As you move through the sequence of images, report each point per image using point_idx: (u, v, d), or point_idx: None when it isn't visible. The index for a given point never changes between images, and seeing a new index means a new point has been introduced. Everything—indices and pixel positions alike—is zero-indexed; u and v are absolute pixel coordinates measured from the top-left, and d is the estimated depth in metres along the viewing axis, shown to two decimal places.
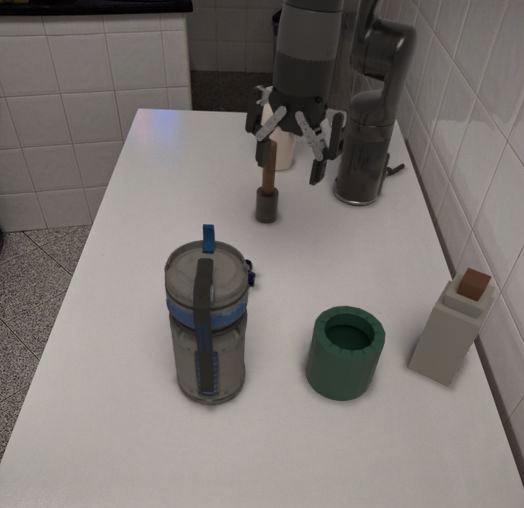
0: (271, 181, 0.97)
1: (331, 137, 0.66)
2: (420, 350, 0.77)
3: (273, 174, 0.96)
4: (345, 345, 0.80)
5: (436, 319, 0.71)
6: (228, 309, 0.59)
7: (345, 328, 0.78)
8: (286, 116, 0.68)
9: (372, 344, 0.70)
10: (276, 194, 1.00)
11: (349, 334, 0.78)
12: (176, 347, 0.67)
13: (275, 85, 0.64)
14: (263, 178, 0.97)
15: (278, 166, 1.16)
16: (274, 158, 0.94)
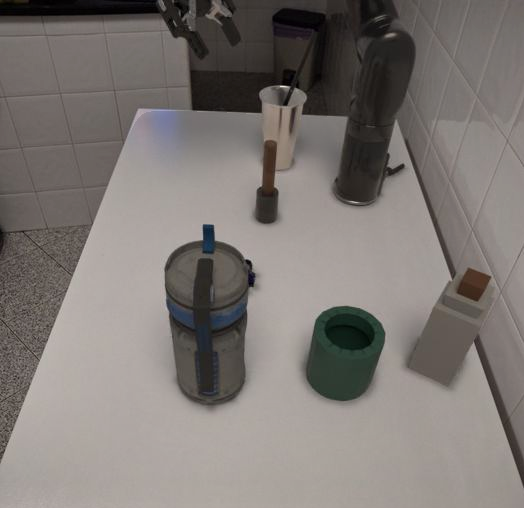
0: (271, 181, 0.97)
1: None
2: (420, 350, 0.77)
3: (273, 174, 0.96)
4: (345, 345, 0.80)
5: (436, 319, 0.71)
6: (228, 309, 0.59)
7: (345, 328, 0.78)
8: None
9: (372, 344, 0.70)
10: (276, 194, 1.00)
11: (349, 334, 0.78)
12: (176, 347, 0.67)
13: None
14: (263, 178, 0.97)
15: (278, 166, 1.16)
16: (274, 158, 0.94)
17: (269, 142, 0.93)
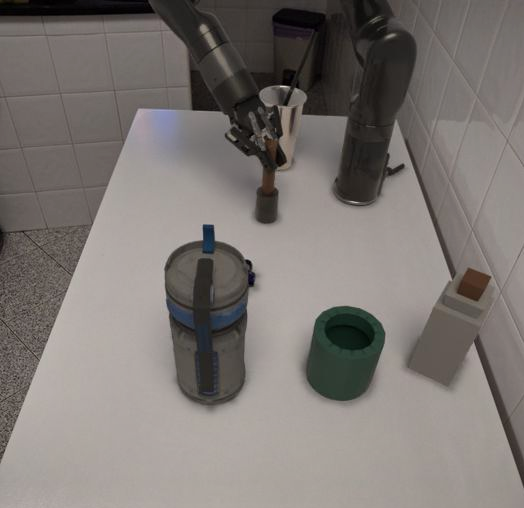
0: (271, 181, 0.97)
1: None
2: (420, 350, 0.77)
3: (273, 174, 0.96)
4: (345, 345, 0.80)
5: (436, 319, 0.71)
6: (228, 309, 0.59)
7: (345, 328, 0.78)
8: None
9: (372, 344, 0.70)
10: (276, 194, 1.00)
11: (349, 334, 0.78)
12: (176, 347, 0.67)
13: None
14: (263, 178, 0.97)
15: None
16: (274, 158, 0.94)
17: (269, 142, 0.93)
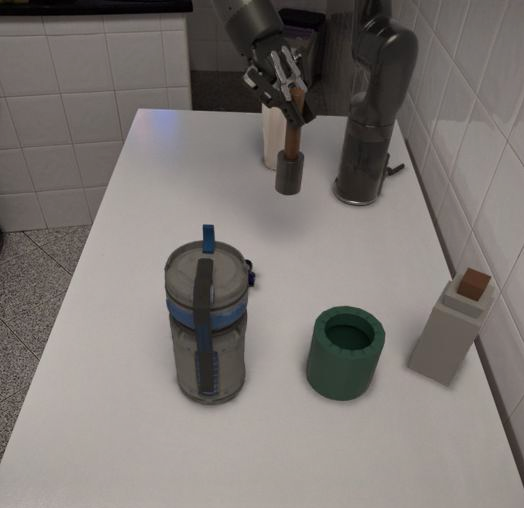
0: (296, 142, 0.80)
1: None
2: (420, 350, 0.77)
3: (299, 132, 0.79)
4: (345, 345, 0.80)
5: (436, 319, 0.71)
6: (227, 309, 0.59)
7: (345, 328, 0.78)
8: None
9: (372, 344, 0.70)
10: (301, 158, 0.82)
11: (349, 334, 0.78)
12: (176, 347, 0.67)
13: None
14: (286, 138, 0.79)
15: None
16: (301, 111, 0.76)
17: (295, 91, 0.75)
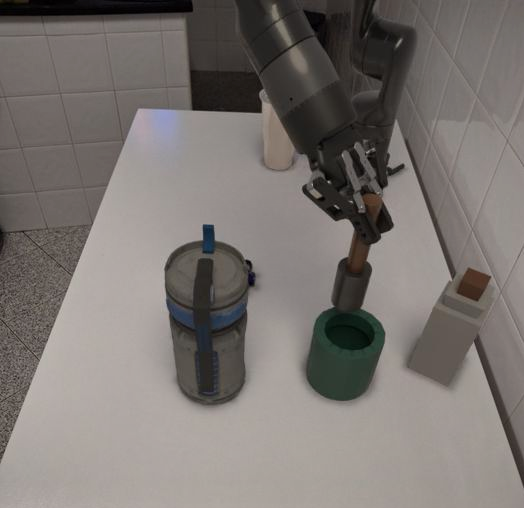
0: (365, 255, 0.62)
1: None
2: (420, 350, 0.77)
3: (369, 245, 0.61)
4: (345, 345, 0.80)
5: (436, 319, 0.71)
6: (228, 309, 0.59)
7: (345, 328, 0.78)
8: None
9: (372, 344, 0.70)
10: (369, 272, 0.65)
11: (349, 334, 0.78)
12: (176, 347, 0.67)
13: None
14: (352, 250, 0.62)
15: (278, 166, 1.16)
16: (375, 222, 0.59)
17: (369, 198, 0.58)
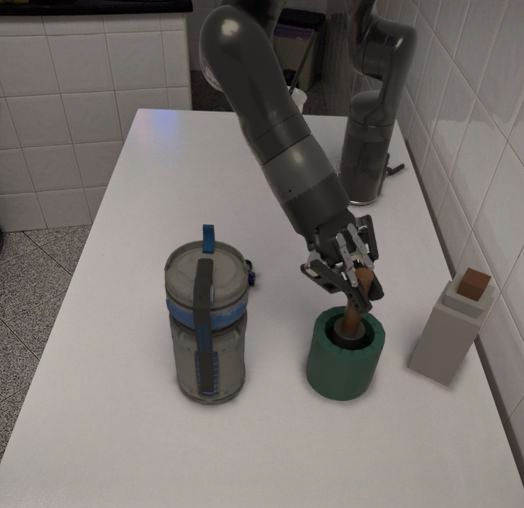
0: (358, 319, 0.68)
1: None
2: (420, 350, 0.77)
3: None
4: None
5: (436, 319, 0.71)
6: (228, 309, 0.59)
7: None
8: None
9: (372, 344, 0.70)
10: (362, 332, 0.71)
11: None
12: (176, 347, 0.67)
13: None
14: (347, 314, 0.68)
15: None
16: (367, 293, 0.65)
17: (362, 272, 0.64)
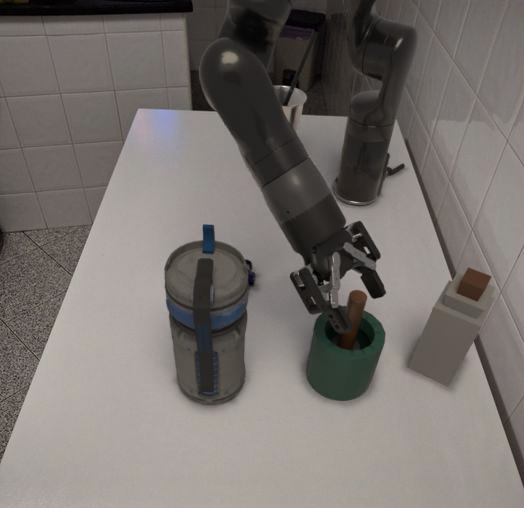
0: (353, 338, 0.71)
1: None
2: (420, 350, 0.77)
3: (357, 330, 0.70)
4: None
5: (436, 319, 0.71)
6: (227, 309, 0.59)
7: None
8: None
9: (372, 344, 0.70)
10: None
11: None
12: (176, 347, 0.67)
13: None
14: (342, 334, 0.71)
15: None
16: (361, 314, 0.68)
17: (356, 295, 0.66)
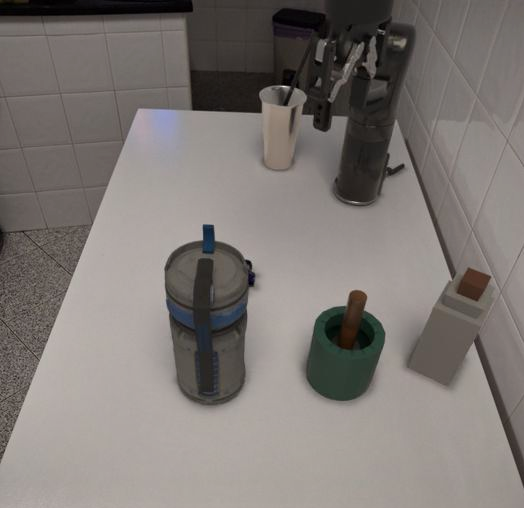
0: (353, 338, 0.71)
1: None
2: (420, 350, 0.77)
3: (357, 330, 0.70)
4: None
5: (436, 319, 0.71)
6: (227, 309, 0.59)
7: None
8: None
9: (372, 344, 0.70)
10: None
11: None
12: (176, 347, 0.67)
13: None
14: (342, 334, 0.71)
15: (278, 166, 1.16)
16: (361, 314, 0.68)
17: (356, 295, 0.66)
